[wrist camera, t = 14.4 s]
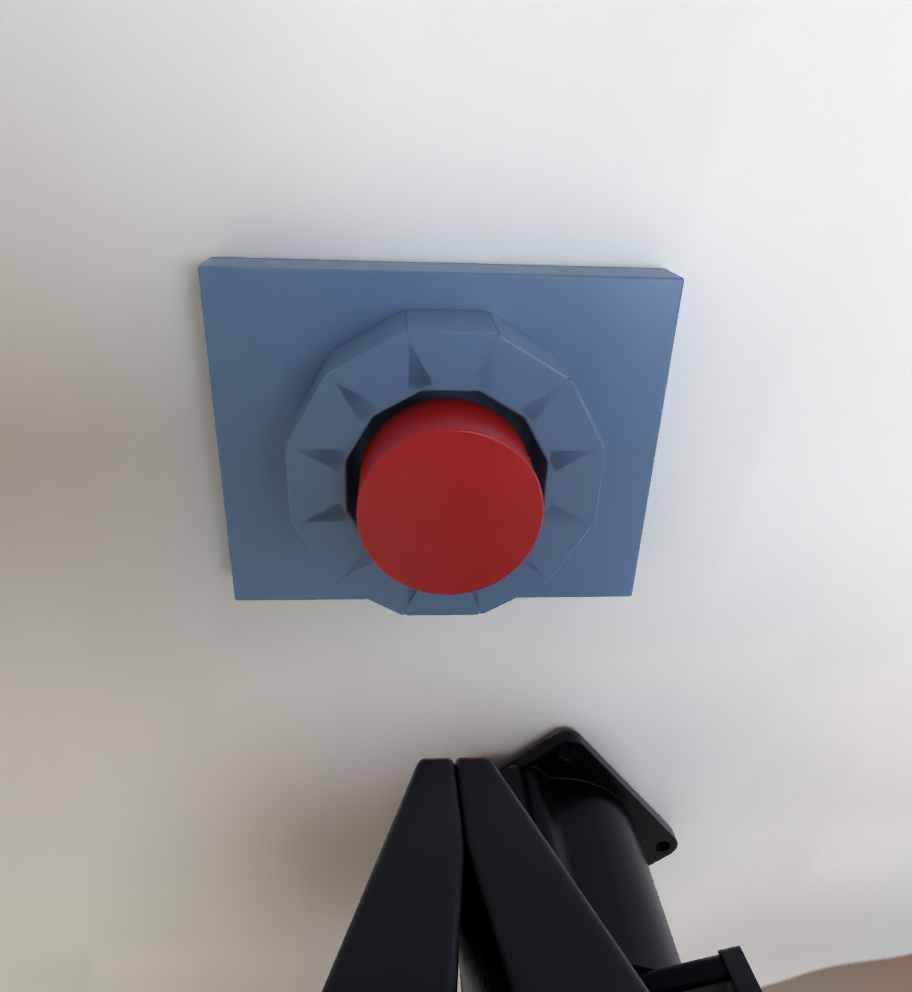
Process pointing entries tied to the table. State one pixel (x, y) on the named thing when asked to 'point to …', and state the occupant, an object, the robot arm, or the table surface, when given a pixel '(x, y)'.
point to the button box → (425, 376)
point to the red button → (448, 497)
